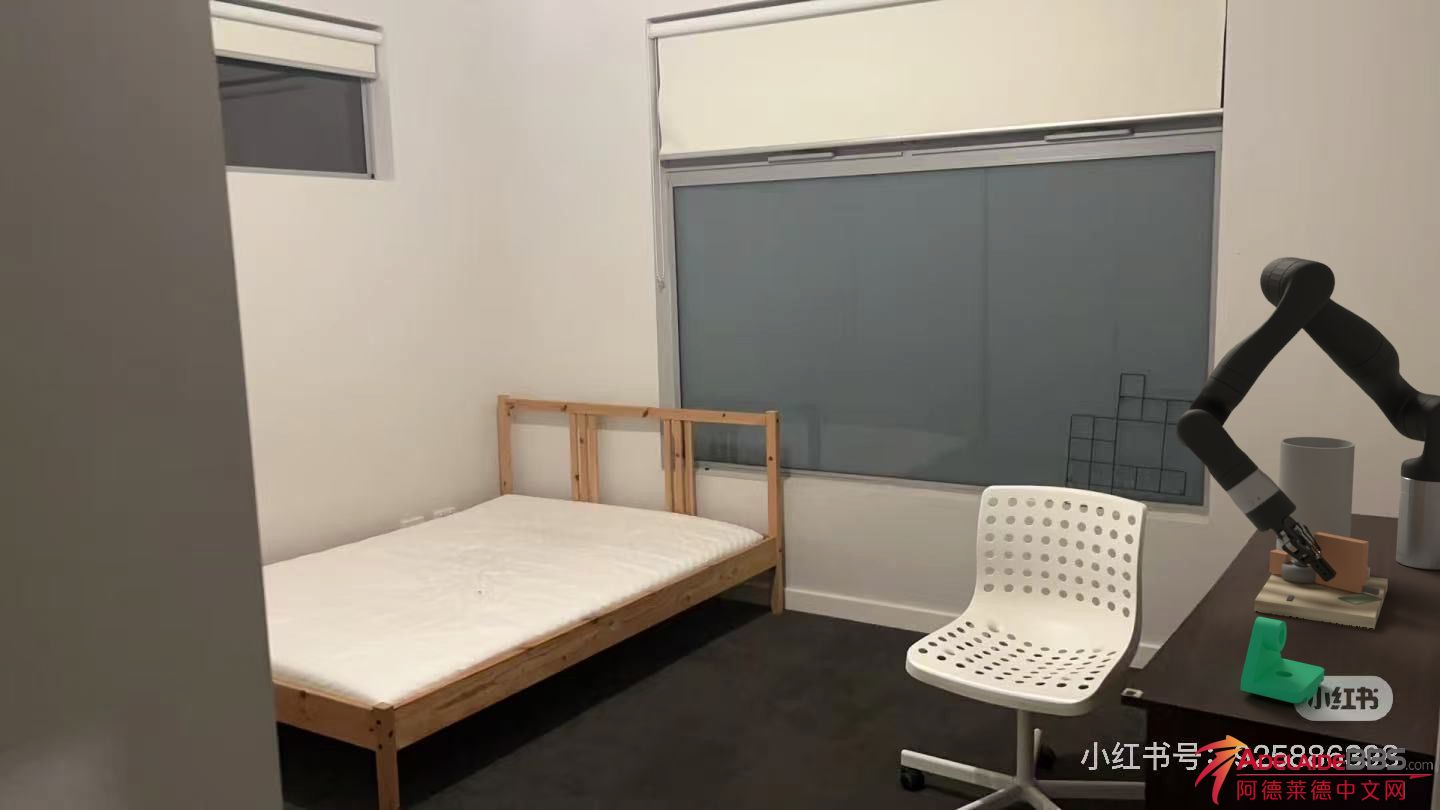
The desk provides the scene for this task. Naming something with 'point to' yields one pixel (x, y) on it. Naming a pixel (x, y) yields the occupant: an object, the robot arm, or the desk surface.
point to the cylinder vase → (1318, 483)
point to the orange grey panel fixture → (1339, 554)
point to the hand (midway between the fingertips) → (1331, 578)
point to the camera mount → (1277, 666)
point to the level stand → (1322, 601)
